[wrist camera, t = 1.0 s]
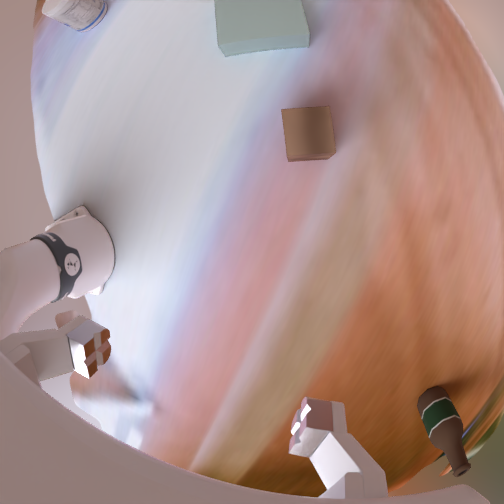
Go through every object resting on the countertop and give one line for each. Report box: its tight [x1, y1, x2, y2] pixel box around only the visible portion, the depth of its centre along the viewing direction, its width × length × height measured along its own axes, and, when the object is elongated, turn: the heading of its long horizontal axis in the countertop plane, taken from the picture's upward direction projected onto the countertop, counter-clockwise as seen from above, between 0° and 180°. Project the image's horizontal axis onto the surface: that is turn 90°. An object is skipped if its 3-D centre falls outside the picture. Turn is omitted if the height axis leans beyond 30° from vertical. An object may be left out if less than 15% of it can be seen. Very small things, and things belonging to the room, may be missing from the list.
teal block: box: [214, 0, 310, 57], centre depth 32 cm, size 14×14×5 cm
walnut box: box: [281, 106, 336, 162], centre depth 34 cm, size 6×6×9 cm
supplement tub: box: [42, 0, 107, 32], centre depth 29 cm, size 10×10×15 cm
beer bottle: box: [417, 386, 471, 477], centre depth 34 cm, size 8×8×24 cm
